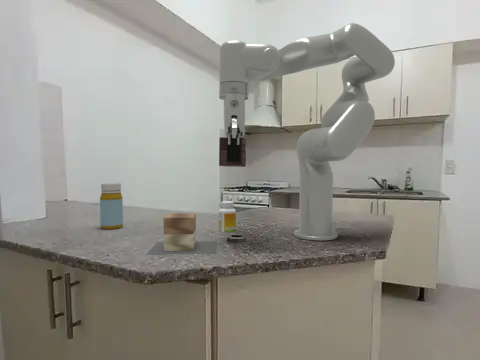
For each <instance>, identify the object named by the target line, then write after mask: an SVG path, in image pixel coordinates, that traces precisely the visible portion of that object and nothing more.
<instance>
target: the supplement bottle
mask: <svg viewBox="0 0 480 360" xmlns="http://www.w3.org/2000/svg"><path fill="white" fill-rule="evenodd" d="M220 206H221V208H219V209H218V232H220V233H235V232H236V231H237V211H236V208H234V207H235V201H231V200H227V201H226V200H223V201H221V202H220Z"/></svg>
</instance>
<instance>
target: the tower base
mask: <svg viewBox="0 0 480 360" xmlns="http://www.w3.org/2000/svg"><path fill="white" fill-rule="evenodd" d="M196 241H197V228H196V229H195V232H194V234H173V235H164V234H163V242H164V251H194V248H195V245H196Z"/></svg>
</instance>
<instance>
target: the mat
mask: <svg viewBox="0 0 480 360" xmlns="http://www.w3.org/2000/svg"><path fill="white" fill-rule="evenodd" d="M217 248H218V241H217V240H216V241H215V240H213V241H212V240H209V241H207V240H206V241H205V240H204V241H202V240H201V241H197V240H196V245H195V248H194V251H164V241H157V242H156V243H155V244H154V245H153V246H152V248H151V249H150V250H148V252H147V253H146V255H147V256H148V255H151V256H152V255H203V254H204V255H205V254H207V255H208V254H209V255H210V254H217V250H218V249H217Z"/></svg>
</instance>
